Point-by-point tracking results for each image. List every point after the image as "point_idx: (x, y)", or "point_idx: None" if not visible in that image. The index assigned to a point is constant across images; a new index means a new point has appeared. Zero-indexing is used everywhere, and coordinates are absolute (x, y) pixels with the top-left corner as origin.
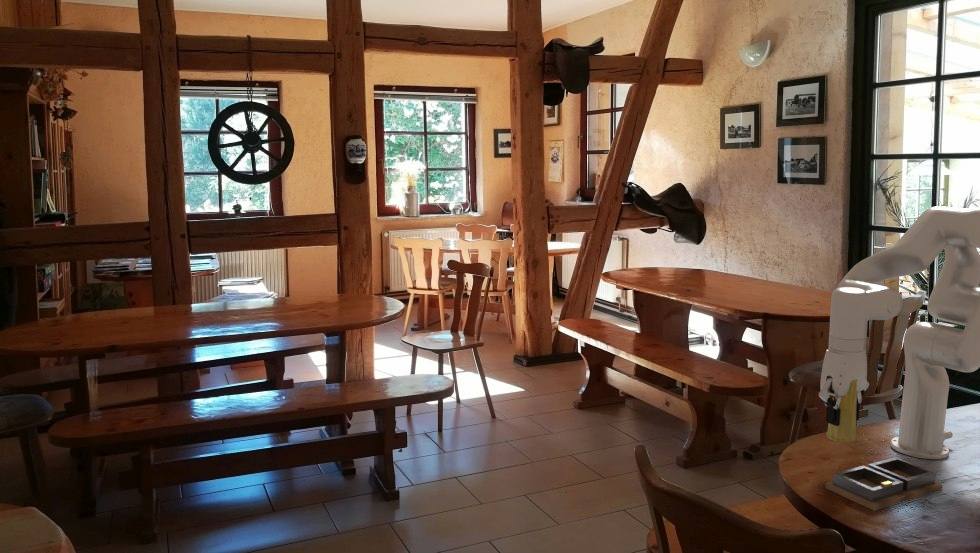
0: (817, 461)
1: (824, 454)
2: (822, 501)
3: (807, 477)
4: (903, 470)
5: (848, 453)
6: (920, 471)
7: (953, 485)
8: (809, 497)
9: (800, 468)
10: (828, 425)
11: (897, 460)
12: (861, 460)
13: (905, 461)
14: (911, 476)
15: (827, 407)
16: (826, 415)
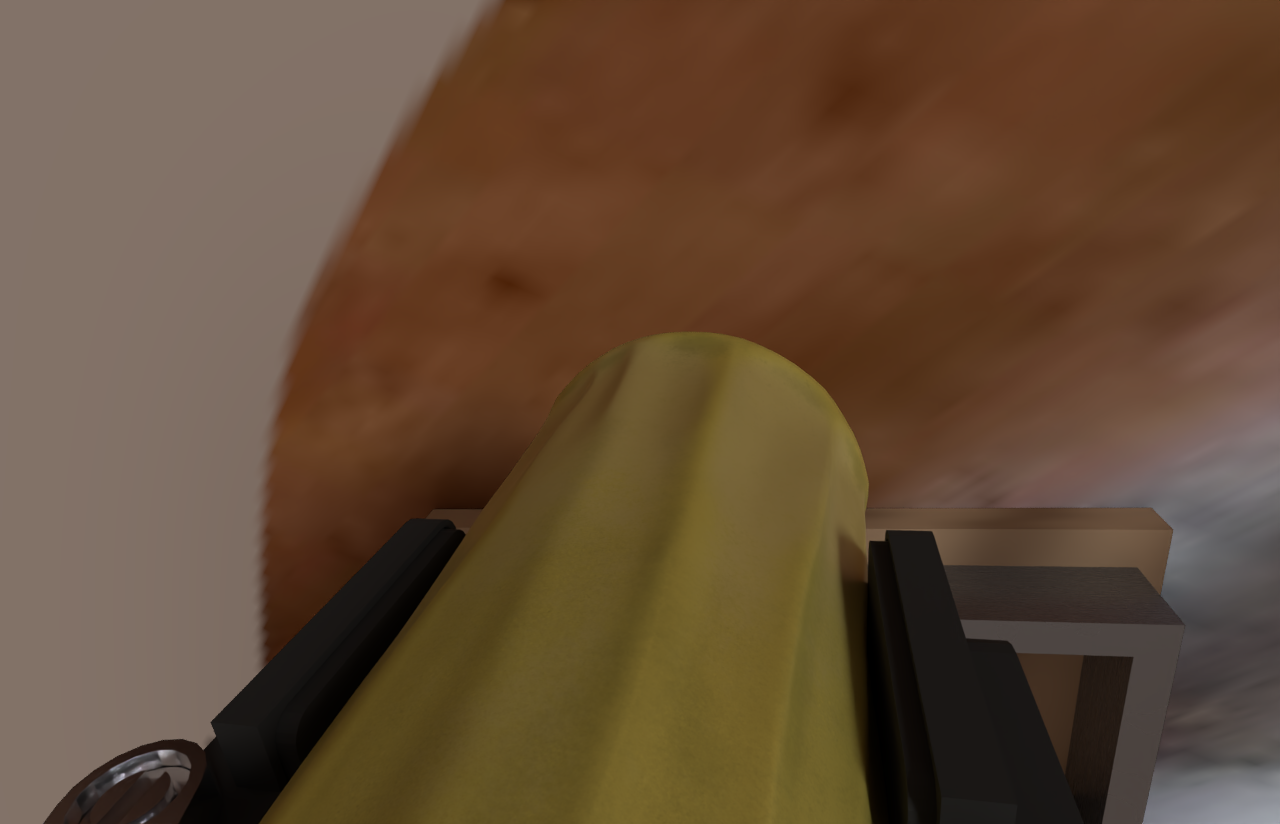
0: (727, 131)
1: (938, 8)
2: (310, 607)
3: (429, 347)
4: (1092, 656)
5: (1200, 78)
6: (1091, 797)
7: (1255, 814)
8: (270, 549)
9: (484, 199)
10: (517, 466)
11: (1127, 651)
12: (1129, 267)
13: (1143, 708)
14: (1065, 704)
15: (256, 696)
16: (356, 577)
